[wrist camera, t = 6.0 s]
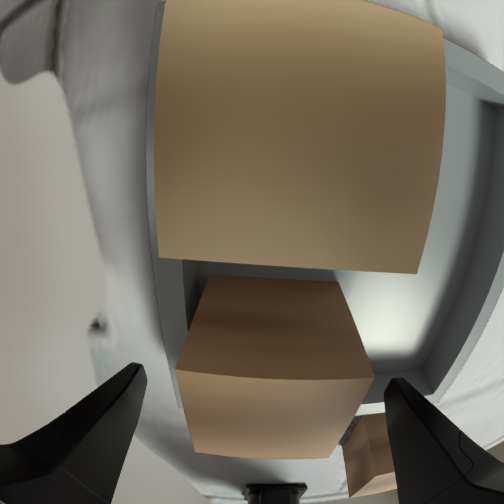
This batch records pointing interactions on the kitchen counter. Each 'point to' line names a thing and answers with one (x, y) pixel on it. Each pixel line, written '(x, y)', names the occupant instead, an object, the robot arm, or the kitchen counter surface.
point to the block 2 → (271, 368)
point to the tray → (391, 284)
